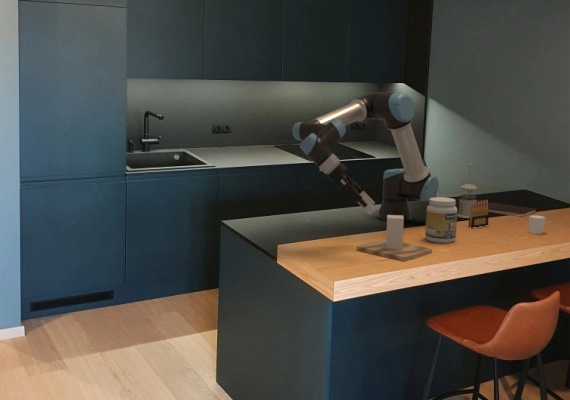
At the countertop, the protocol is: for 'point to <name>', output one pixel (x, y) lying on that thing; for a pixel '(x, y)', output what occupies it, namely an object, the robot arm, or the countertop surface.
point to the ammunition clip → (478, 214)
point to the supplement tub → (441, 220)
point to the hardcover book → (509, 209)
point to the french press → (466, 200)
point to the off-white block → (394, 232)
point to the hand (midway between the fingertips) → (372, 208)
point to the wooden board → (402, 255)
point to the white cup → (536, 224)
